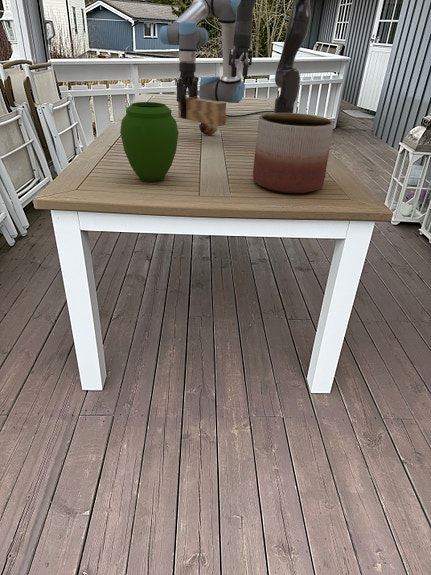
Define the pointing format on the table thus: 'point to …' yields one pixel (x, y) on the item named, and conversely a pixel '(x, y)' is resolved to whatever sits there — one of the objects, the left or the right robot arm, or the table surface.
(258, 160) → the planter
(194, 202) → the table surface
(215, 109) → the bar
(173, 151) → the vase
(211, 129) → the seashell
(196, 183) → the table surface
